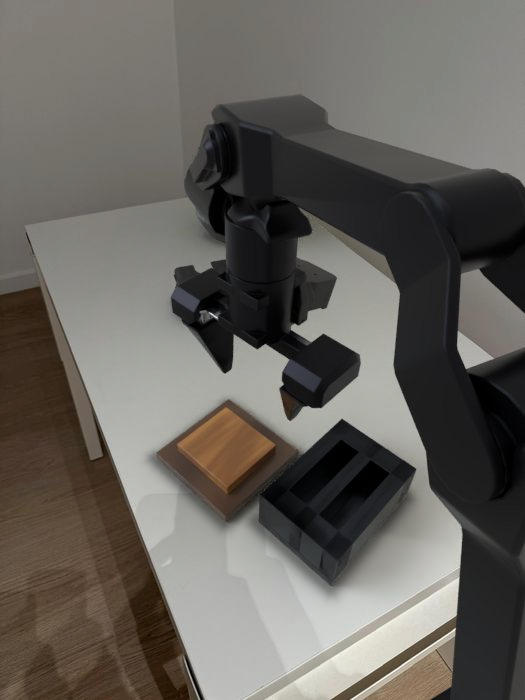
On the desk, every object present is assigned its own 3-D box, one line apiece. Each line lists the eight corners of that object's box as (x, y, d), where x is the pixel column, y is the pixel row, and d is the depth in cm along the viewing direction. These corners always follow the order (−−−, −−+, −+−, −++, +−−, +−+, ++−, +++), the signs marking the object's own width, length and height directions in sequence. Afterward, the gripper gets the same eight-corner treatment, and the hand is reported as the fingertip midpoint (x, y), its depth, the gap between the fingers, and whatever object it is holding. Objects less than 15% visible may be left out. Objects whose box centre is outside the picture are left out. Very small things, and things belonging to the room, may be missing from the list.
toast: (276, 444, 61) (226, 406, 65) (227, 487, 56) (176, 443, 60) (275, 452, 61) (226, 414, 66) (227, 494, 57) (178, 451, 61)
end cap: (184, 326, 80) (180, 290, 76) (174, 299, 85) (170, 265, 80) (245, 313, 83) (245, 278, 78) (232, 288, 88) (231, 254, 83)
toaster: (410, 491, 59) (421, 463, 56) (331, 586, 51) (337, 561, 47) (341, 442, 64) (347, 413, 61) (258, 522, 56) (259, 494, 52)
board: (297, 456, 62) (298, 450, 62) (226, 522, 56) (225, 516, 55) (228, 404, 68) (228, 398, 68) (157, 458, 62) (155, 452, 61)
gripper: (412, 270, 42) (379, 399, 52) (248, 194, 51) (248, 317, 62) (328, 334, 36) (309, 465, 46) (159, 235, 45) (176, 363, 55)
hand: (258, 393), depth 53 cm, fingers open, 9 cm apart
